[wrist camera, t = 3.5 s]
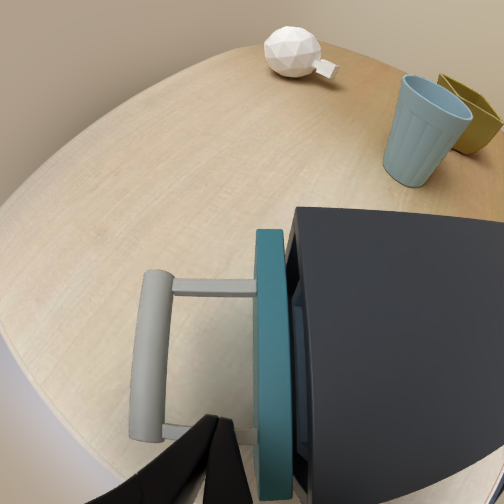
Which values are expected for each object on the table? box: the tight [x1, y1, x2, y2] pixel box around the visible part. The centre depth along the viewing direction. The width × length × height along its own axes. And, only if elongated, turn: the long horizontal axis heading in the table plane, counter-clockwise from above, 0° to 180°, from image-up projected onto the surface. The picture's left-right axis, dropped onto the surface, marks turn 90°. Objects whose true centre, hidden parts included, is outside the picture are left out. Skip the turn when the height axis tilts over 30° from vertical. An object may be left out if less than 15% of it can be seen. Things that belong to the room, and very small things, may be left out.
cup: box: [383, 75, 473, 187], centre depth 23 cm, size 8×8×10 cm
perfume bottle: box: [264, 26, 339, 79], centre depth 34 cm, size 9×9×12 cm
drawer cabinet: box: [285, 207, 504, 504], centre depth 13 cm, size 15×13×9 cm
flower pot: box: [437, 73, 504, 154], centre depth 28 cm, size 9×9×9 cm
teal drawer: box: [129, 229, 308, 501], centre depth 13 cm, size 18×11×8 cm, turn 90°
